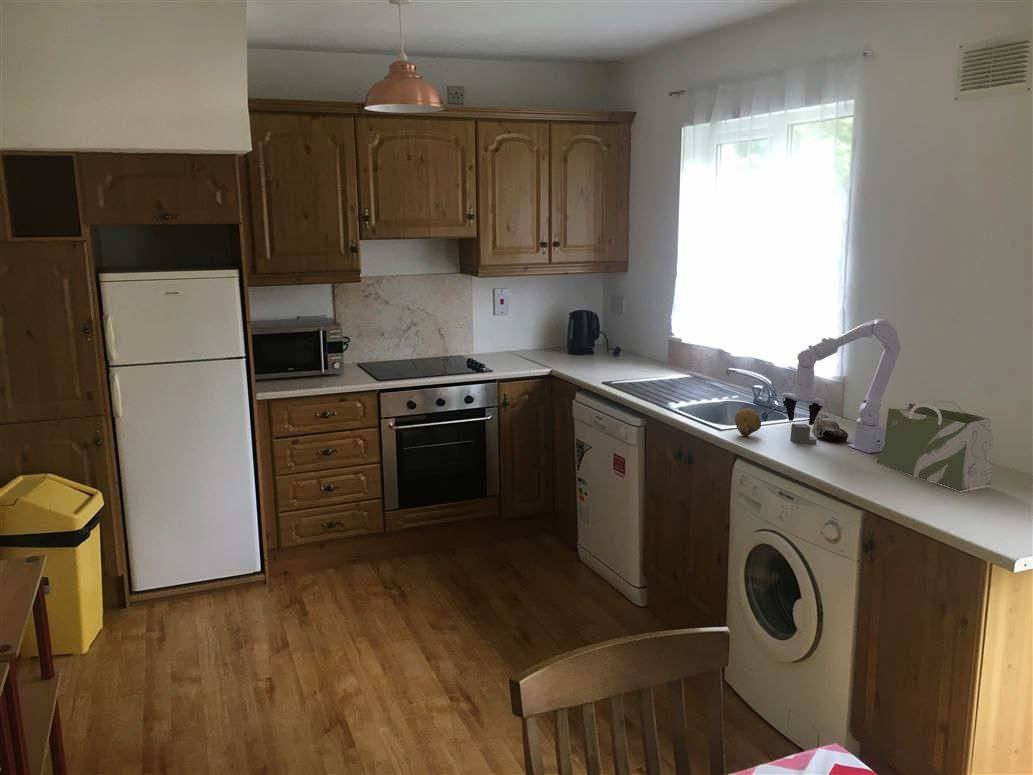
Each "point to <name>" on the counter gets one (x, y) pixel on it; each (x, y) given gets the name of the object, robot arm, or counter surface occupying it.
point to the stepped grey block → (801, 434)
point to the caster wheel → (829, 430)
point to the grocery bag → (939, 445)
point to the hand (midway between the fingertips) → (801, 422)
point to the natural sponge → (747, 421)
